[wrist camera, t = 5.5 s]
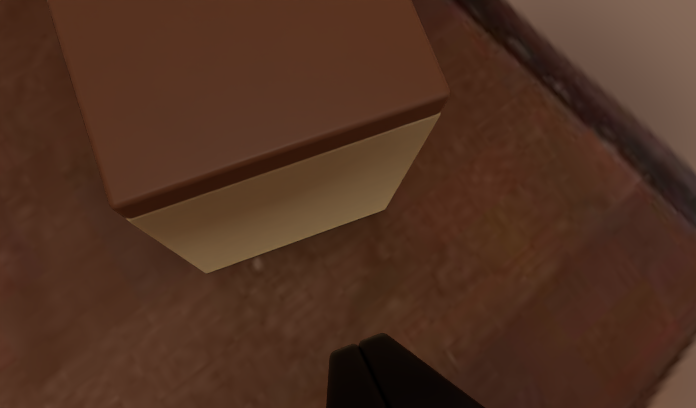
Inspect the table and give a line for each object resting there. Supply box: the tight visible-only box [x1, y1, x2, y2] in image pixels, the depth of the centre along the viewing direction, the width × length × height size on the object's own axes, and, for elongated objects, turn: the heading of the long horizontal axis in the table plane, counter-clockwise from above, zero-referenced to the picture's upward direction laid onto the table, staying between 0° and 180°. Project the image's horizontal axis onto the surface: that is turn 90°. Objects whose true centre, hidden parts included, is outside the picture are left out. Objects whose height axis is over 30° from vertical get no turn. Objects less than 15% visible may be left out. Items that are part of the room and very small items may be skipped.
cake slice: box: [46, 0, 450, 273], centre depth 13 cm, size 8×5×8 cm, turn 21°
